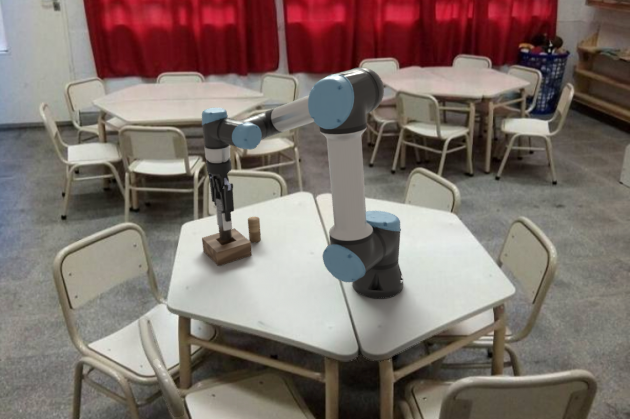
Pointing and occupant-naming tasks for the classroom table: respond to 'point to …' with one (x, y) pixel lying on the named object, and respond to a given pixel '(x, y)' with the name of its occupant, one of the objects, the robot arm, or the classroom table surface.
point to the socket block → (226, 247)
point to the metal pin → (222, 234)
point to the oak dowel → (254, 229)
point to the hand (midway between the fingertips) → (224, 226)
